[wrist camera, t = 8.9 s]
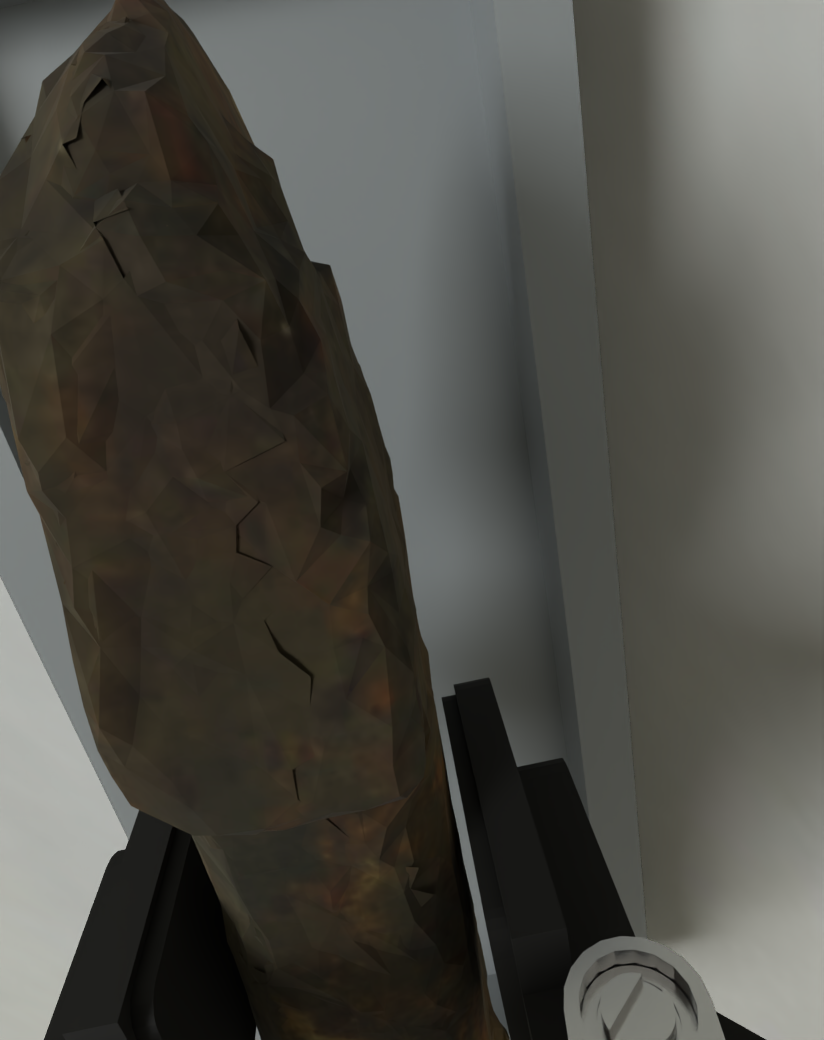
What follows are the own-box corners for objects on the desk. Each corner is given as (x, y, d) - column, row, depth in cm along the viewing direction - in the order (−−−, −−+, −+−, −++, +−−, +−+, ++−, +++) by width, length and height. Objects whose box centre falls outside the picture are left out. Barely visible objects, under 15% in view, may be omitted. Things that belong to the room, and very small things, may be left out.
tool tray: (506, -163, 10) (550, -267, 8) (619, 935, 20) (654, 1028, 18) (-173, -20, 10) (-321, -85, 8) (270, 1008, 20) (260, 1110, 18)
